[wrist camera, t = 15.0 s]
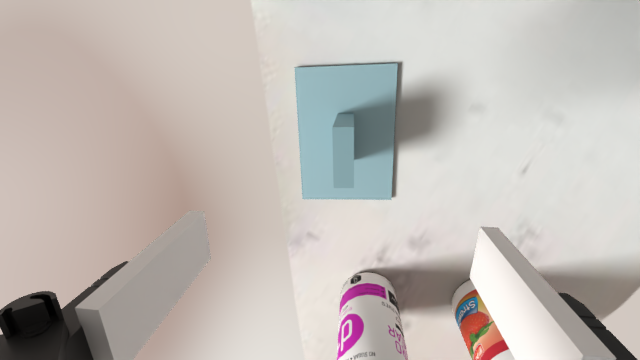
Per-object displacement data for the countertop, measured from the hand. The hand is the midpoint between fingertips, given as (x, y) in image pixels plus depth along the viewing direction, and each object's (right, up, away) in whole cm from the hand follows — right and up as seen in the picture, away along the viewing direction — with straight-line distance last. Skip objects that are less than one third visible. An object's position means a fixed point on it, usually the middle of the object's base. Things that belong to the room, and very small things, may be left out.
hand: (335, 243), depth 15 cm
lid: (+3, +9, +25) cm, 26 cm away
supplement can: (+7, -14, +32) cm, 36 cm away
